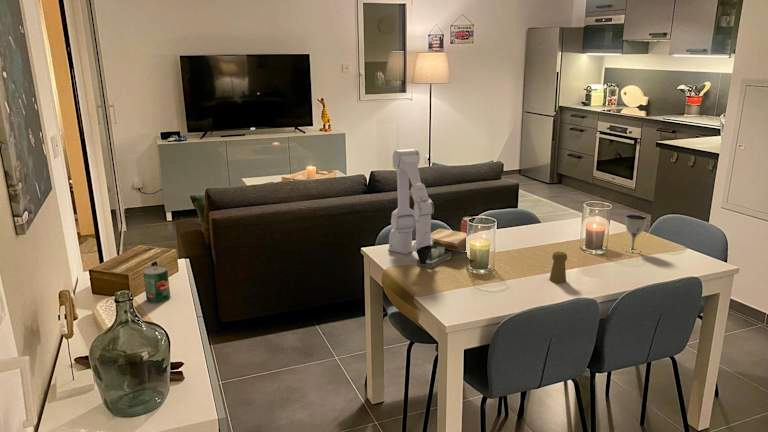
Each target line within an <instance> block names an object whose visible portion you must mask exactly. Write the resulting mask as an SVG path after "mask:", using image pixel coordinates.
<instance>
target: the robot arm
mask: <svg viewBox="0 0 768 432" xmlns="http://www.w3.org/2000/svg"><path fill="white" fill-rule="evenodd" d="M419 151H420V150H418V148H411V149H395V150H394V152H393V154H392V166H393V167H392V168H393V169H395V170H396V182H397V183H396V185H397V189H396V191H397V192H396V193H397V208H396V209H395V210H393V211H392V212H391V220H390V225H391V230H390V232H389V235H388V236H389V237H388V249H387V250H388V251H392V252H396V253H401V254H404V255H406V254H407V255H408V254H409V253H411V252H414V253H415V252H416V254H417V257H418V258H419V262H420V264H426V261H427V257H428V254H429V252H430V250H431V248H432V246H430V245H433V243H432V242H434V237H431V233H432V229H431V228H432V215H433V214H434V212H435V211H434V210H435V208H434V202H433V201H432V199H431V198H430V197H429V195H428V192H427V189H426V186H425V184H424V183H422V181H421V176H420V170H419V164H420V159H421V155H420V152H419ZM410 183H411V187H410ZM410 192H411V195H412V196H411V197H412V199H413V203H414V204H413V205H414V206H413V209H412V208H410ZM414 230H415V241H414V243H413V231H414ZM418 258H417V259H418Z"/></svg>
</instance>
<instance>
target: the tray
mask: <svg viewBox="0 0 768 432" xmlns="http://www.w3.org/2000/svg"><path fill="white" fill-rule="evenodd" d="M452 255H453V251H452V250H446V248H445V246H443V245H438V246H437V248H433V249H432V252H430V253H429V254H428V257H427V261H426V264H420V262H419V258H417V259H416V264H417V265H418V266H422V267H424V266H425V267H426V268H429V269H433V268H435V267H436V266H438V265H440V264H441V262H442V263H444V262H445V261H447V260H449V259H451V258H452ZM450 257H451V258H450ZM448 258H449V259H448ZM446 259H447V260H446ZM439 263H440V264H439ZM425 267H424V268H425ZM432 267H433V268H432Z"/></svg>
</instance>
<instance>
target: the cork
mask: <svg viewBox="0 0 768 432" xmlns="http://www.w3.org/2000/svg"><path fill="white" fill-rule="evenodd" d="M567 260H568V256H567V253H566V252H564V251H559V250H558V251H555V252H553V253H552V261H553V263H552V266H551V269H550V270H551V271H550V275H549V281H550V282H552V283H555V284H564V283H567V273H566V270H567V269H566V261H567Z"/></svg>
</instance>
